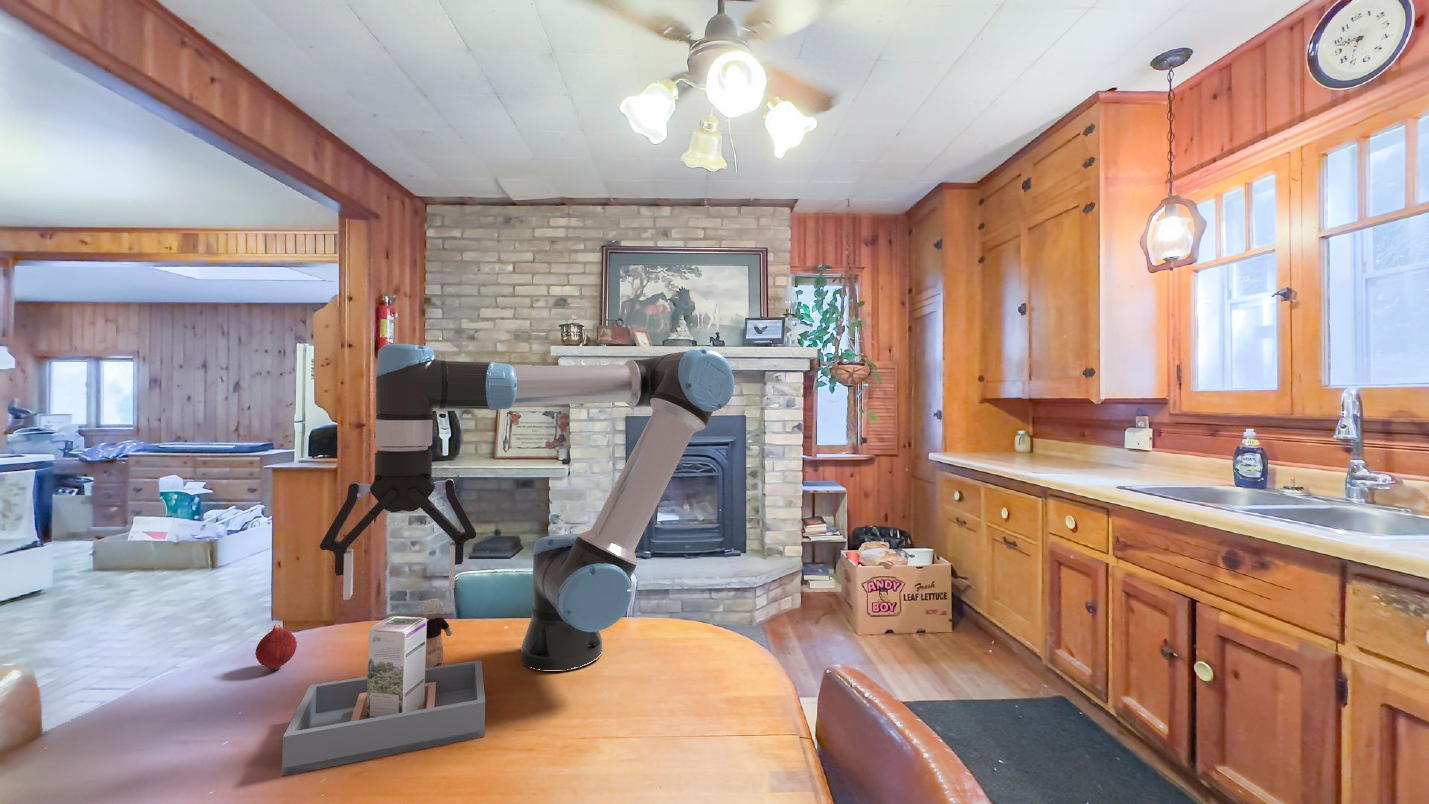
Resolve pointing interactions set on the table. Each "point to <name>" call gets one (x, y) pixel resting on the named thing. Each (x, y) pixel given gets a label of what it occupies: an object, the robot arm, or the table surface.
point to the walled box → (382, 720)
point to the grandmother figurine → (434, 633)
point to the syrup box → (396, 666)
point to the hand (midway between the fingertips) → (401, 591)
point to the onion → (276, 648)
